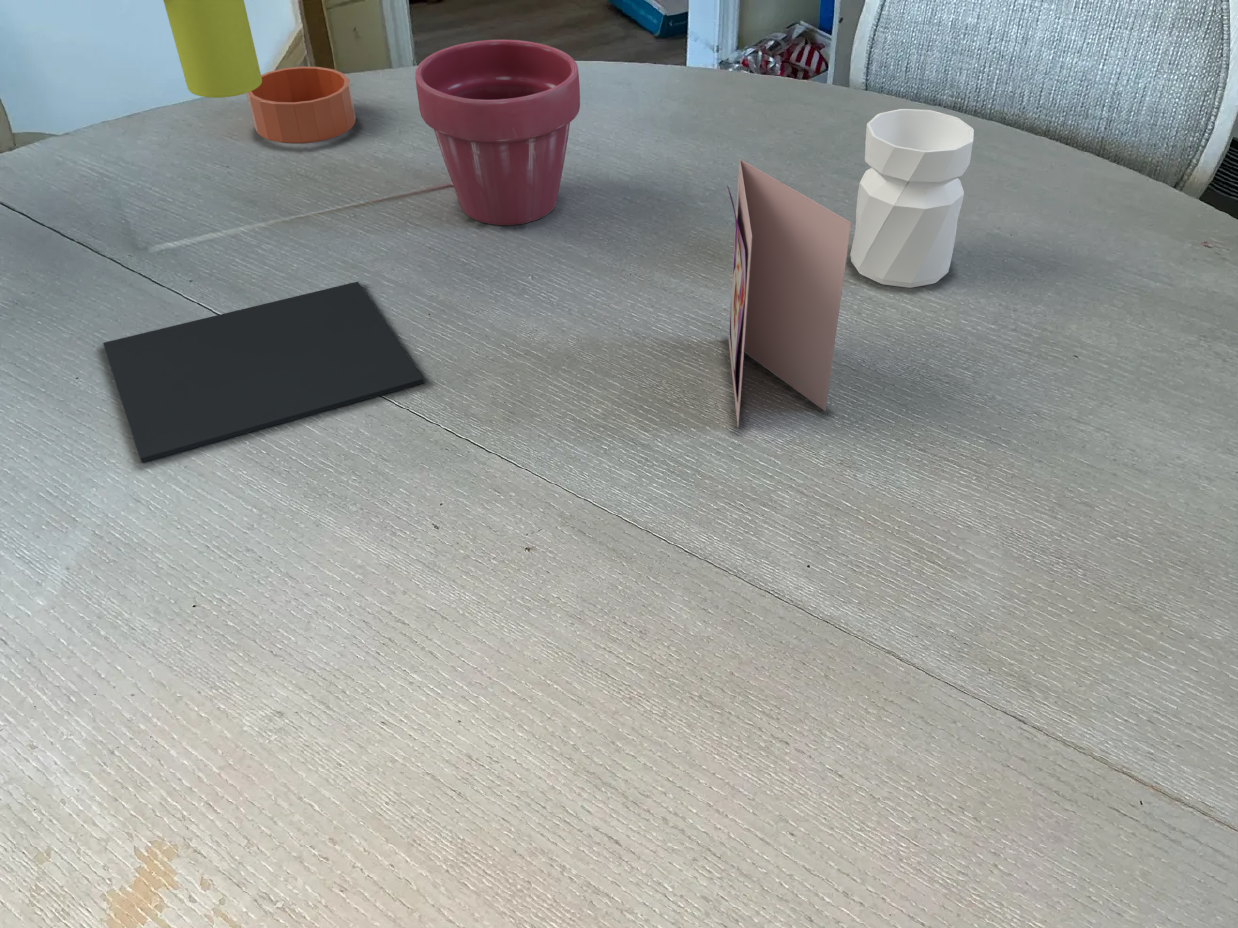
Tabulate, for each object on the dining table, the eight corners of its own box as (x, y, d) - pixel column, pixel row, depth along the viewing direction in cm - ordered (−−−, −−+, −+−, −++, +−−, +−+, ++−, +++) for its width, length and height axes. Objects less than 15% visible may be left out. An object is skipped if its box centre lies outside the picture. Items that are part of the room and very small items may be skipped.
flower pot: (537, 253, 97) (527, 110, 89) (403, 220, 101) (380, 80, 93) (609, 188, 107) (606, 53, 99) (484, 160, 111) (470, 29, 103)
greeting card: (717, 339, 87) (727, 158, 77) (810, 340, 88) (832, 159, 78) (725, 428, 79) (737, 237, 69) (829, 428, 79) (856, 238, 69)
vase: (969, 273, 96) (999, 140, 88) (888, 297, 93) (911, 160, 85) (908, 230, 102) (930, 101, 94) (829, 251, 98) (845, 119, 91)
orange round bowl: (270, 155, 111) (260, 111, 108) (245, 118, 118) (235, 76, 115) (369, 136, 115) (361, 93, 112) (339, 101, 122) (332, 60, 119)
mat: (141, 463, 75) (139, 458, 74) (104, 346, 85) (102, 342, 85) (424, 383, 82) (423, 378, 82) (358, 285, 93) (357, 281, 92)
